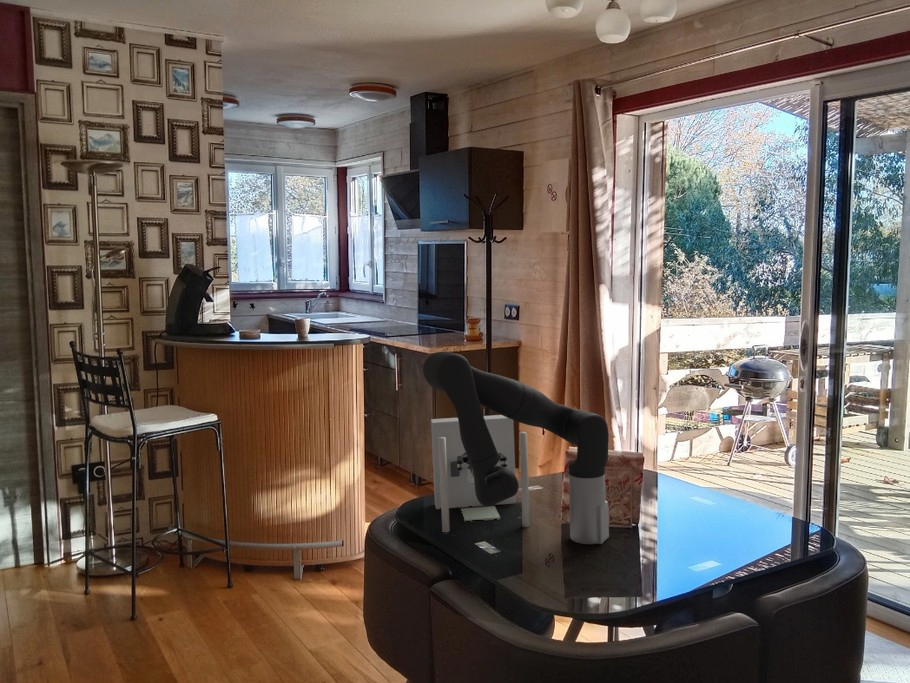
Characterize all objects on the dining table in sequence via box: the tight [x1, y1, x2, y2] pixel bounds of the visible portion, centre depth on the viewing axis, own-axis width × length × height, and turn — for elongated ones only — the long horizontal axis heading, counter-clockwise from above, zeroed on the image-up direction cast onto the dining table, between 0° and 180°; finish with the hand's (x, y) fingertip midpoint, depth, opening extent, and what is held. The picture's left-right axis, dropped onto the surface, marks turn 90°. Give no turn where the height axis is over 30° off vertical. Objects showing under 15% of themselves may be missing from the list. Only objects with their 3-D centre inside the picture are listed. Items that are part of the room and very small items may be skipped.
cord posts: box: [438, 431, 531, 533], centre depth 212 cm, size 2×24×26 cm, turn 96°
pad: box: [460, 505, 501, 522], centre depth 225 cm, size 10×10×1 cm
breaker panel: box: [430, 414, 517, 510], centre depth 233 cm, size 7×24×26 cm, turn 96°
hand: (477, 455), depth 222 cm, fingers closed on can, 6 cm apart
